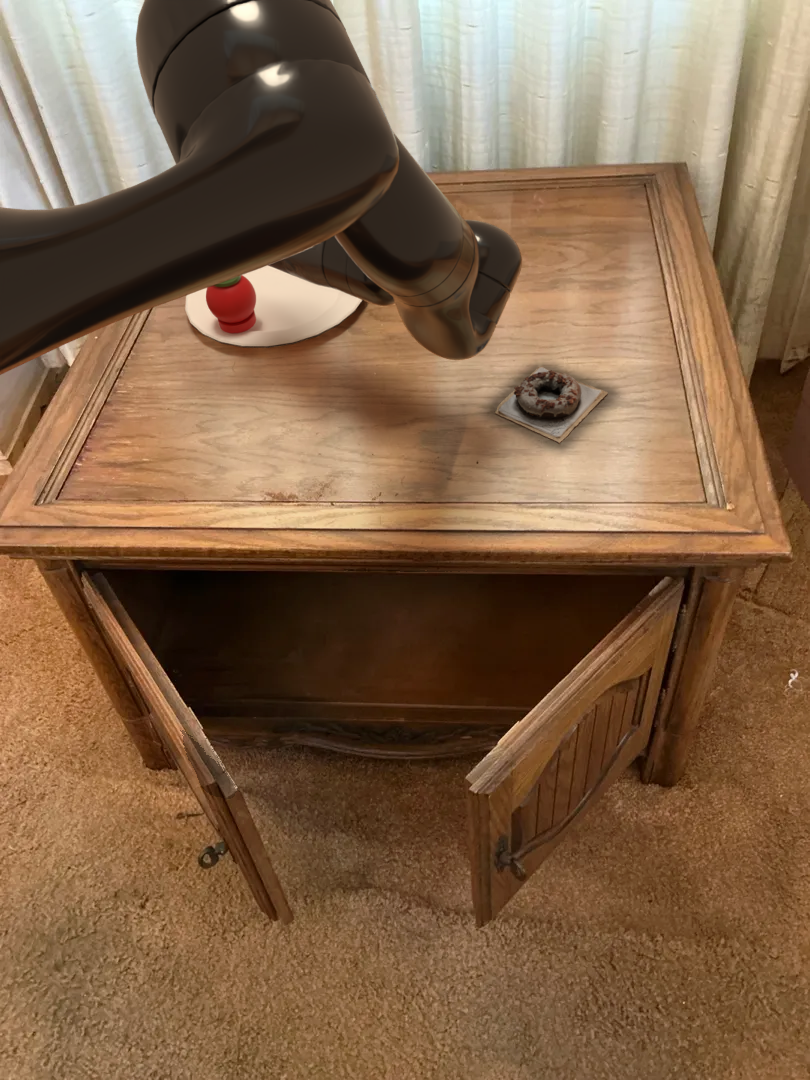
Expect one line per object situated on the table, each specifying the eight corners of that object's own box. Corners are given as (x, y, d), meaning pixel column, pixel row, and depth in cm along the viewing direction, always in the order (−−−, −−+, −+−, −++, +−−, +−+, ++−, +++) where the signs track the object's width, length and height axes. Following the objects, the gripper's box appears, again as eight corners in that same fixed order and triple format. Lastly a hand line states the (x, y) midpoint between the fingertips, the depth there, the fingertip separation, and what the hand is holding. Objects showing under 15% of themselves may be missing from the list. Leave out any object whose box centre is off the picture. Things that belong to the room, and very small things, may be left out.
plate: (229, 245, 105) (226, 233, 104) (390, 256, 101) (389, 243, 99) (157, 348, 93) (152, 335, 91) (337, 366, 88) (335, 353, 87)
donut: (539, 366, 85) (540, 349, 84) (607, 394, 82) (609, 377, 80) (490, 411, 81) (490, 395, 80) (559, 443, 78) (561, 426, 76)
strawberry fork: (222, 342, 89) (177, 194, 77) (208, 317, 93) (163, 171, 80) (268, 327, 91) (231, 178, 78) (253, 303, 94) (215, 156, 81)
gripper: (357, 158, 75) (230, 120, 82) (243, 233, 68) (115, 184, 75) (367, 237, 80) (247, 194, 88) (262, 312, 74) (142, 260, 81)
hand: (186, 190), depth 82 cm, fingers open, 7 cm apart
